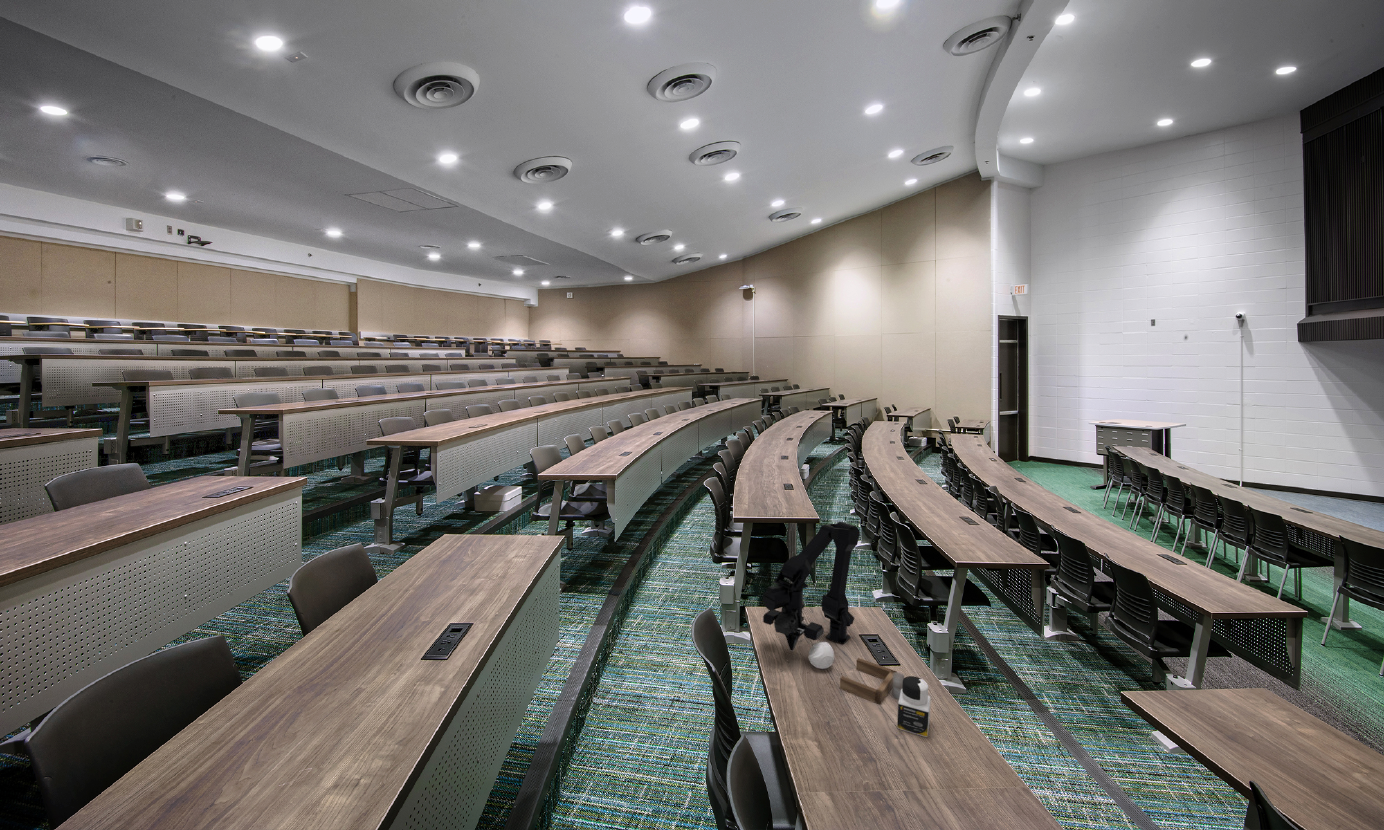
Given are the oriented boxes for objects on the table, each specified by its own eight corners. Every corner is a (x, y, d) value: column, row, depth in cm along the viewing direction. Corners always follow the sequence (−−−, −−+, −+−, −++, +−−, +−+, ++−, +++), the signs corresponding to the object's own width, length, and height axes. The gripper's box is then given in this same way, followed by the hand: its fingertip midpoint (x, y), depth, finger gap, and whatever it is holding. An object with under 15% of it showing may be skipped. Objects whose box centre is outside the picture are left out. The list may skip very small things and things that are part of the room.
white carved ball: (808, 658, 166) (809, 634, 166) (833, 661, 165) (834, 637, 164) (807, 671, 159) (808, 647, 158) (833, 675, 157) (834, 651, 156)
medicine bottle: (896, 728, 134) (898, 683, 133) (900, 712, 140) (902, 669, 139) (927, 738, 131) (929, 692, 130) (929, 721, 137) (931, 677, 136)
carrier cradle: (858, 667, 162) (858, 648, 161) (910, 686, 152) (911, 666, 152) (839, 688, 151) (840, 668, 150) (895, 710, 141) (896, 689, 141)
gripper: (754, 602, 166) (753, 650, 167) (809, 620, 154) (807, 671, 156) (772, 591, 175) (771, 636, 176) (825, 607, 163) (823, 655, 164)
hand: (791, 649), depth 168 cm, fingers closed
